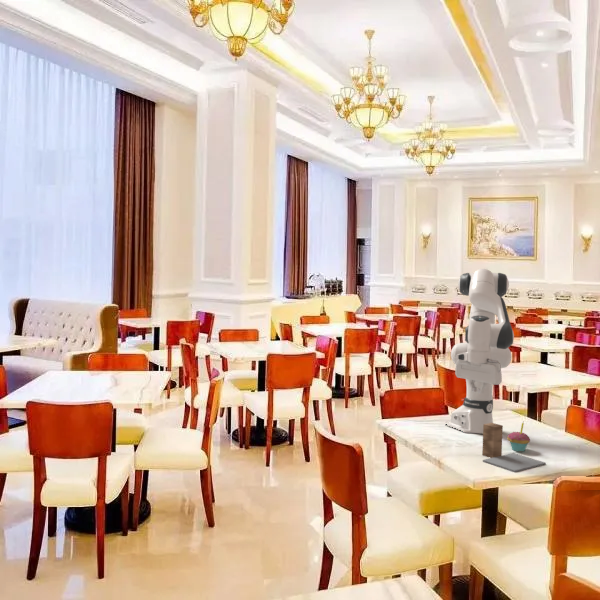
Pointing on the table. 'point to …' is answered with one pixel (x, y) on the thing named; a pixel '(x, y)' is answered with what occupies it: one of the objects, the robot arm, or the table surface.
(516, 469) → the mat
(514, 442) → the cupcake
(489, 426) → the walnut block
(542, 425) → the table surface
